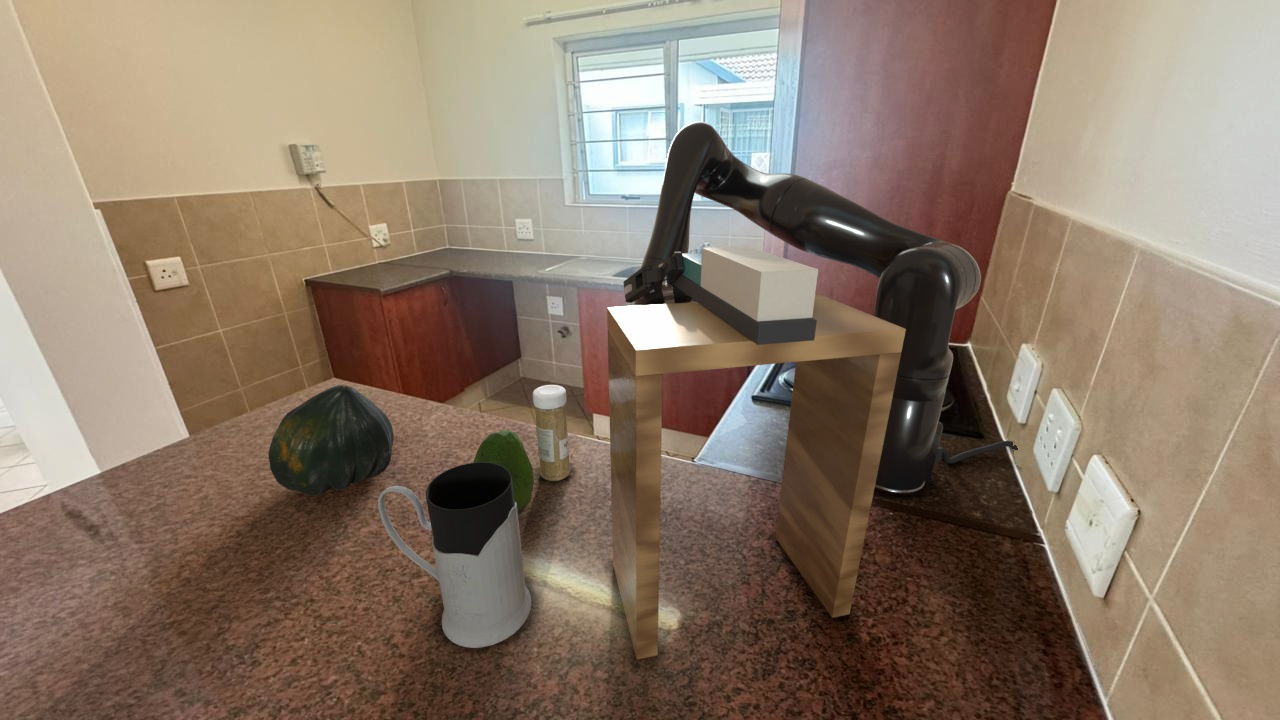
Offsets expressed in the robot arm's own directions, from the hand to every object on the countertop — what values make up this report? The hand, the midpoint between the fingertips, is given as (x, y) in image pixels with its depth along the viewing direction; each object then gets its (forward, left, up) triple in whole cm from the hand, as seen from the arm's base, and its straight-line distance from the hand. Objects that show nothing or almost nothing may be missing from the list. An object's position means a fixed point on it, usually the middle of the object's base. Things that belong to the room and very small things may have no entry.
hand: (704, 260), depth 51 cm
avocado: (+23, -7, -33) cm, 41 cm away
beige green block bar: (0, +7, -3) cm, 7 cm away
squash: (+46, -21, -33) cm, 61 cm away
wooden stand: (0, +11, -33) cm, 35 cm away
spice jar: (+16, -15, -33) cm, 40 cm away
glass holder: (+27, +7, -33) cm, 43 cm away
